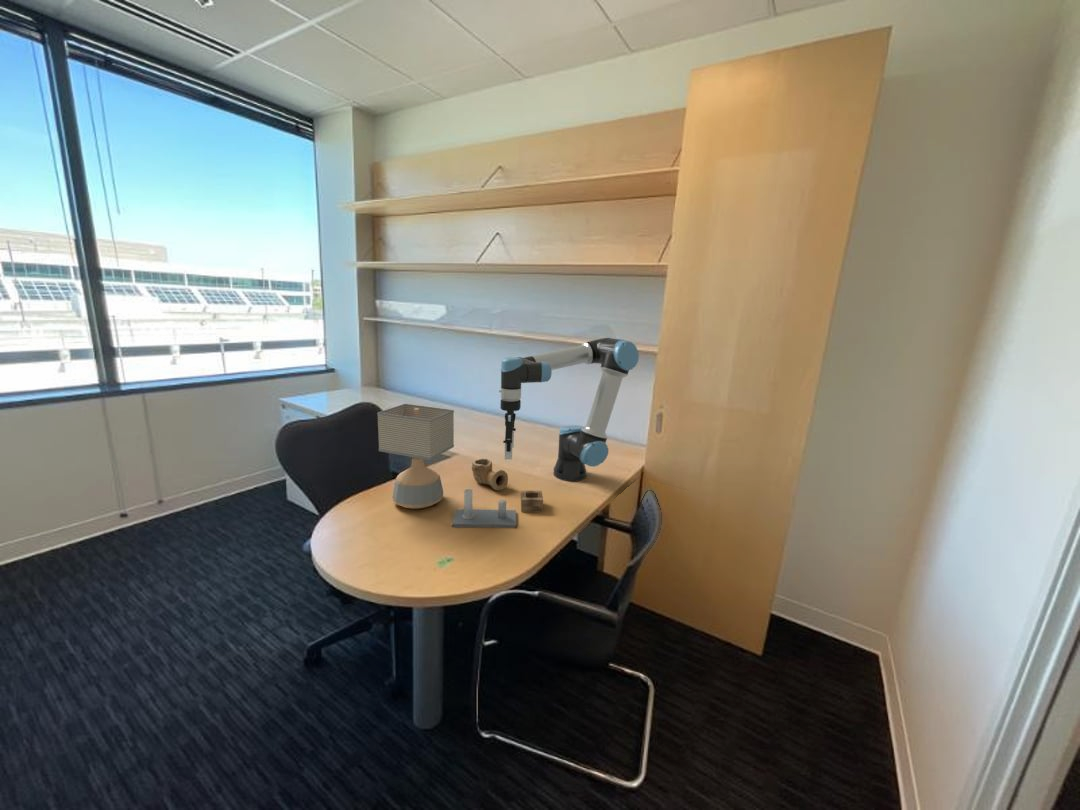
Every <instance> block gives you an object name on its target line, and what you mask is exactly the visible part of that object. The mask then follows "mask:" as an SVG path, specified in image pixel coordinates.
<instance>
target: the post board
mask: <svg viewBox="0 0 1080 810" xmlns="http://www.w3.org/2000/svg"><path fill="white" fill-rule="evenodd" d="M463 499H464V500H463V501H464V505H463V507H464V509H461V508H460V509H459V508H458V509H457V508H456V509H455V512H454V515H453V519H452V523H451V527H452V528H454V527H455V528H517V510H516V509H507V500H505V499H499V500H498V503H497V504H498V505H497V507H498V508H497V509H473V489H471V488H466V489H464V496H463Z"/></svg>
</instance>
